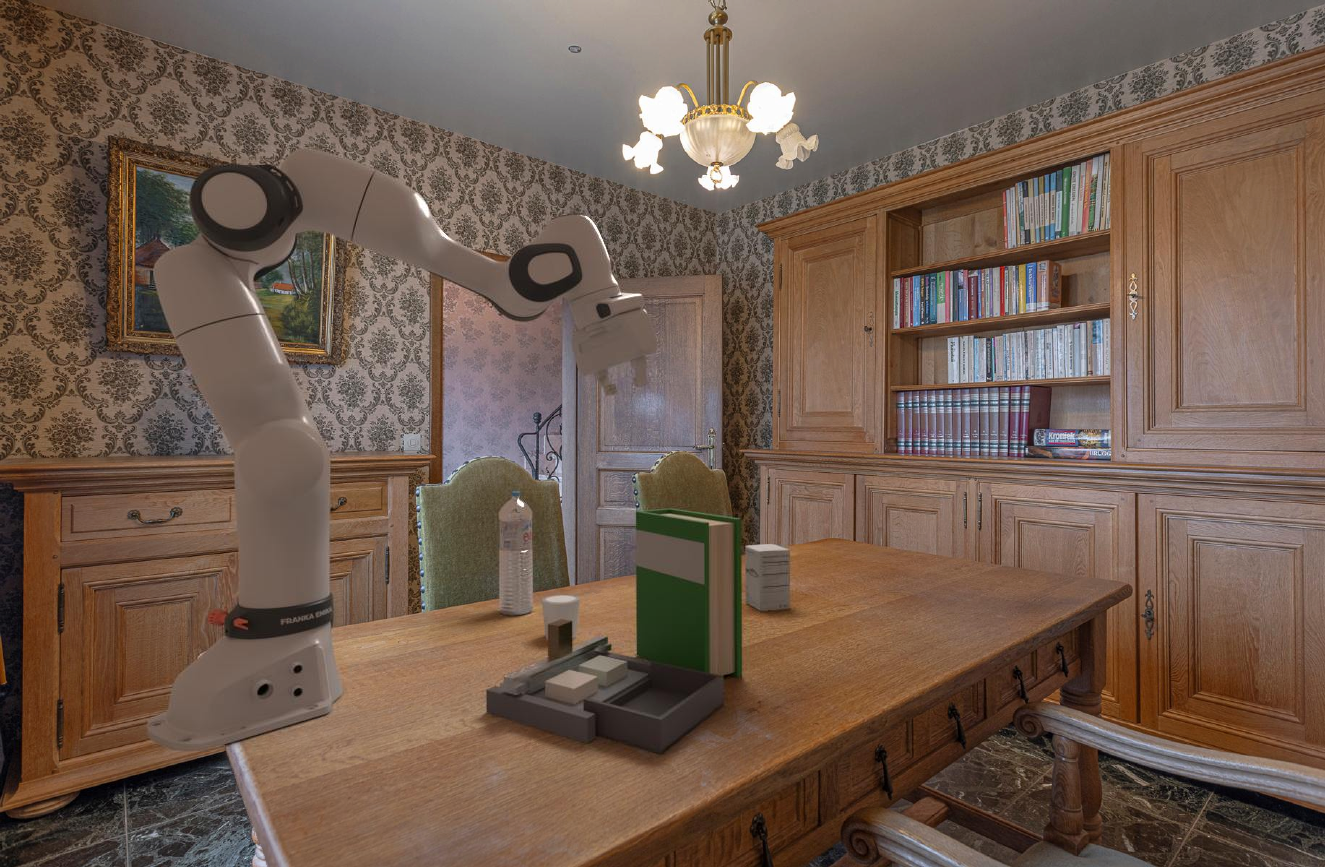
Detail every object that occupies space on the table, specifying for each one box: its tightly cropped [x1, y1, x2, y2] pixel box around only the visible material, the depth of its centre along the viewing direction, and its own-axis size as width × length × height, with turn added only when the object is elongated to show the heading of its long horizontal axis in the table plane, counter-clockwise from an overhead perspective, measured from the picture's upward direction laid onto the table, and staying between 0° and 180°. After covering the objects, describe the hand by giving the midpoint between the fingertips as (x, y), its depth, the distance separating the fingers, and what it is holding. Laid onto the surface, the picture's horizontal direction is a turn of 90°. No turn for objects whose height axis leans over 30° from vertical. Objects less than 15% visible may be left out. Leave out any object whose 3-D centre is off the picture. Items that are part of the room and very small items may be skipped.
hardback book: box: [635, 508, 743, 679], centre depth 105 cm, size 18×7×24 cm, turn 37°
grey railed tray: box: [485, 651, 652, 744], centre depth 92 cm, size 21×17×3 cm
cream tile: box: [545, 670, 598, 704], centre depth 89 cm, size 5×5×2 cm
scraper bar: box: [499, 619, 612, 695], centre depth 94 cm, size 21×3×8 cm, turn 148°
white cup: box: [541, 594, 581, 640], centre depth 120 cm, size 7×7×7 cm
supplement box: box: [744, 543, 791, 612], centre depth 141 cm, size 7×7×13 cm
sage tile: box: [578, 655, 627, 686], centre depth 95 cm, size 5×5×2 cm
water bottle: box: [498, 491, 534, 617], centre depth 137 cm, size 7×7×25 cm
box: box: [583, 661, 725, 755], centre depth 86 cm, size 16×12×4 cm
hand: (626, 390), depth 112 cm, fingers open, 8 cm apart
